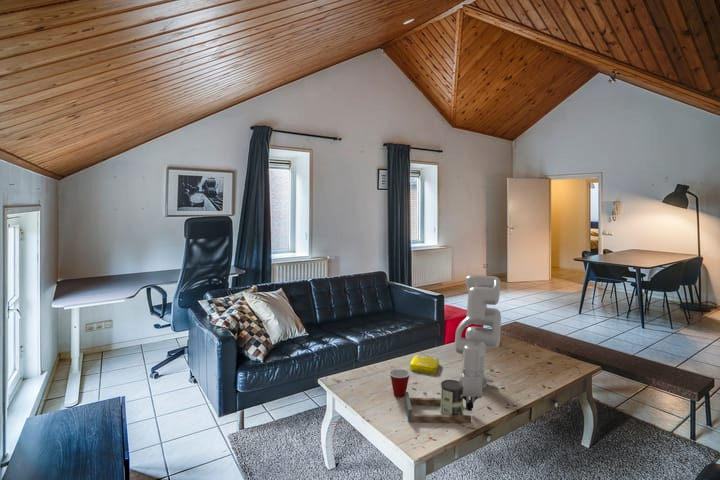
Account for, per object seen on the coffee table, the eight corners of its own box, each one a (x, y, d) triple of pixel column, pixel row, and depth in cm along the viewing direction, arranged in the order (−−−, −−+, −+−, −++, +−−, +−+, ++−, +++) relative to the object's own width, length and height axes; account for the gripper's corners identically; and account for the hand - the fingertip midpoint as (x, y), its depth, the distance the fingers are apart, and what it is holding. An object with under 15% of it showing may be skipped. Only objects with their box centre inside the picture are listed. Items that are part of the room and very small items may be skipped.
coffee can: (462, 409, 184) (463, 380, 182) (462, 421, 174) (463, 391, 172) (440, 406, 186) (441, 378, 185) (439, 417, 177) (440, 388, 175)
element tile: (409, 370, 225) (409, 363, 225) (415, 360, 239) (415, 353, 239) (435, 375, 220) (435, 367, 219) (439, 364, 234) (439, 357, 233)
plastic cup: (401, 387, 204) (401, 365, 203) (414, 396, 195) (414, 374, 194) (384, 392, 199) (384, 370, 197) (396, 402, 190) (397, 379, 188)
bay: (462, 404, 188) (462, 392, 187) (471, 423, 172) (471, 410, 171) (404, 403, 188) (405, 391, 188) (408, 422, 173) (408, 409, 172)
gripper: (484, 368, 181) (482, 405, 183) (452, 368, 181) (451, 405, 183) (489, 375, 174) (488, 414, 176) (456, 375, 174) (455, 413, 176)
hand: (469, 409), depth 180 cm, fingers closed
